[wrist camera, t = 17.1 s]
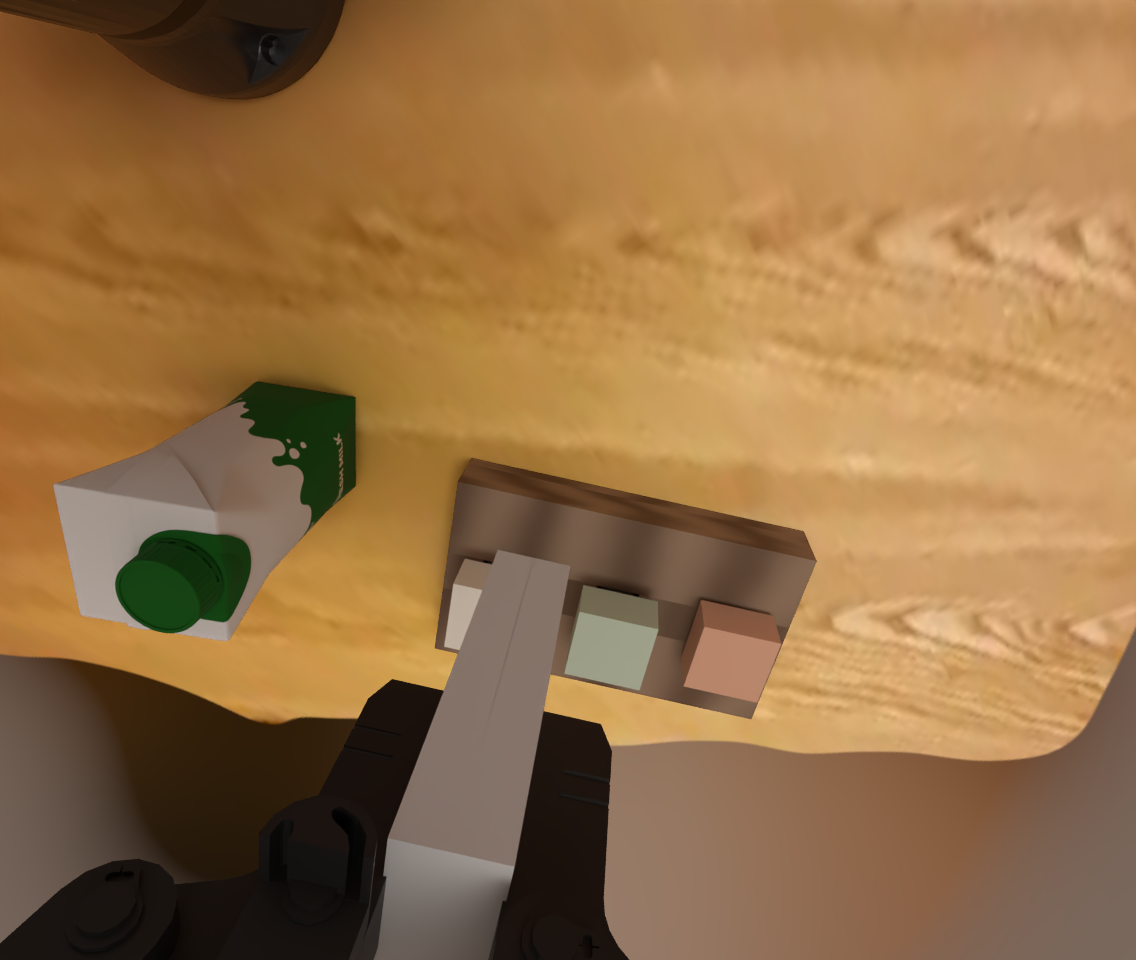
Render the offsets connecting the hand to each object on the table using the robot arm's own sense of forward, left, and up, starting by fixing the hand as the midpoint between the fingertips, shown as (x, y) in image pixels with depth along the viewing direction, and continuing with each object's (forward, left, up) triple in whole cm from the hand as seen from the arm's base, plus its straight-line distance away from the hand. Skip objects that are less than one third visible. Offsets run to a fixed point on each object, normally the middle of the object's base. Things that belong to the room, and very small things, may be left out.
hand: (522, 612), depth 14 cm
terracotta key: (+13, -19, -31) cm, 39 cm away
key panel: (+5, -19, -32) cm, 38 cm away
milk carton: (-19, -13, -33) cm, 40 cm away
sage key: (+5, -19, -30) cm, 35 cm away
